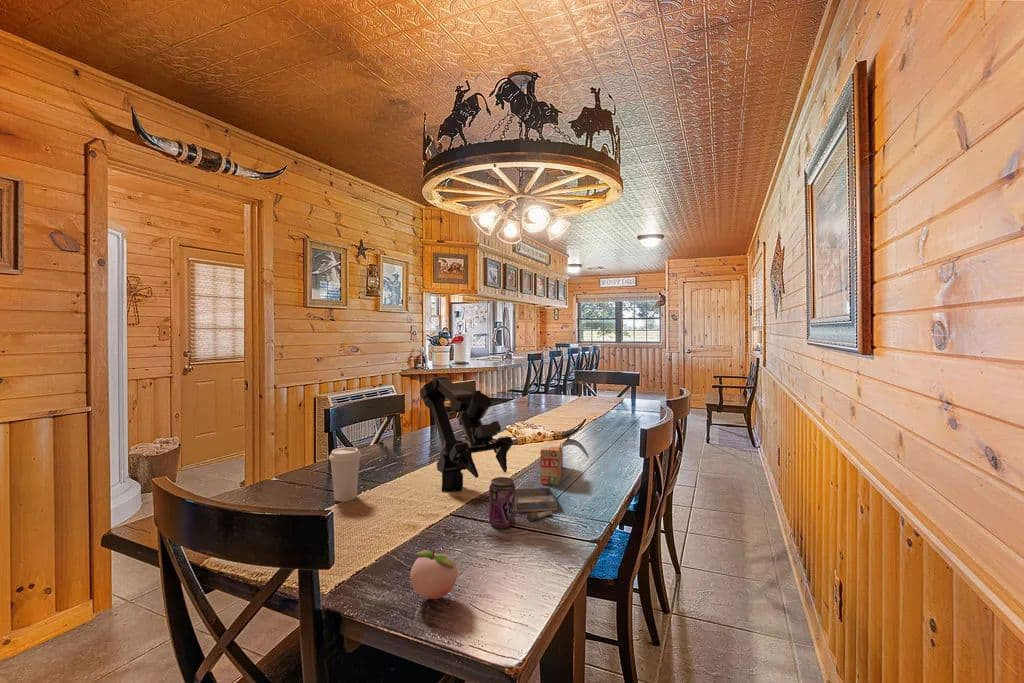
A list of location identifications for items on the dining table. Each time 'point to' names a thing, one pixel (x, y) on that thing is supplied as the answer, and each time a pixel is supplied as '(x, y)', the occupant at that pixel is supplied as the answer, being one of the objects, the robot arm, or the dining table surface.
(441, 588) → the decorative fruit
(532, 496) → the tray
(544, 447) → the stack of blocks
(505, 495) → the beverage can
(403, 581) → the dining table surface
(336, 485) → the coffee cup
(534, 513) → the pin gauge
